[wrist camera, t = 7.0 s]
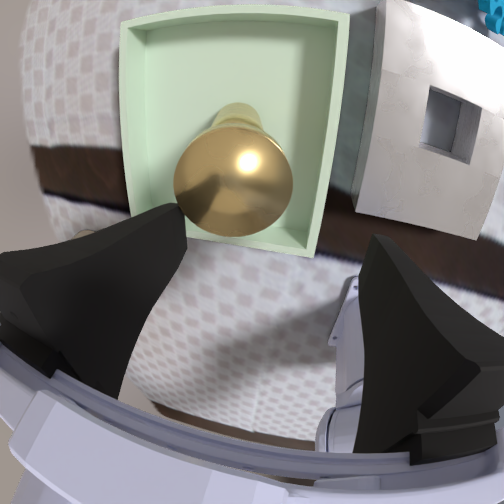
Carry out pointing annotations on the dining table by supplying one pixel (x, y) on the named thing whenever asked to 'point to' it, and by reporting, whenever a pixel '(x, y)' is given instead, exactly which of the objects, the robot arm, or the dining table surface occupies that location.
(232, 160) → the pin
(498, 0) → the gear
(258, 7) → the parts tray
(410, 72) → the pin bracket
